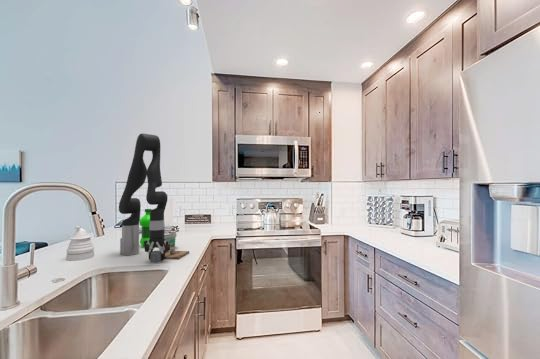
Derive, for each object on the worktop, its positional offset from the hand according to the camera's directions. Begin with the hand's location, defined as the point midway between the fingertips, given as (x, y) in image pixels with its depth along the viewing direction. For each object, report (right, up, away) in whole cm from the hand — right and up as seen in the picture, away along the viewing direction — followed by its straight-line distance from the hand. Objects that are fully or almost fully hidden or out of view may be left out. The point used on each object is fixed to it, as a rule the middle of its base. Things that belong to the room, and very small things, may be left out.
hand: (156, 259), depth 144 cm
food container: (-3, -2, +28) cm, 29 cm away
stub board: (+4, -1, +12) cm, 12 cm away
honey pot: (-47, -2, +9) cm, 48 cm away
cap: (0, -1, 0) cm, 1 cm away
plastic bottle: (-21, -2, +36) cm, 42 cm away
